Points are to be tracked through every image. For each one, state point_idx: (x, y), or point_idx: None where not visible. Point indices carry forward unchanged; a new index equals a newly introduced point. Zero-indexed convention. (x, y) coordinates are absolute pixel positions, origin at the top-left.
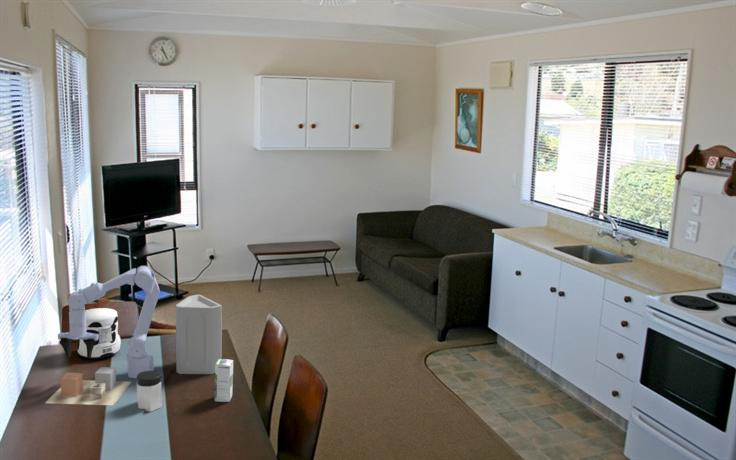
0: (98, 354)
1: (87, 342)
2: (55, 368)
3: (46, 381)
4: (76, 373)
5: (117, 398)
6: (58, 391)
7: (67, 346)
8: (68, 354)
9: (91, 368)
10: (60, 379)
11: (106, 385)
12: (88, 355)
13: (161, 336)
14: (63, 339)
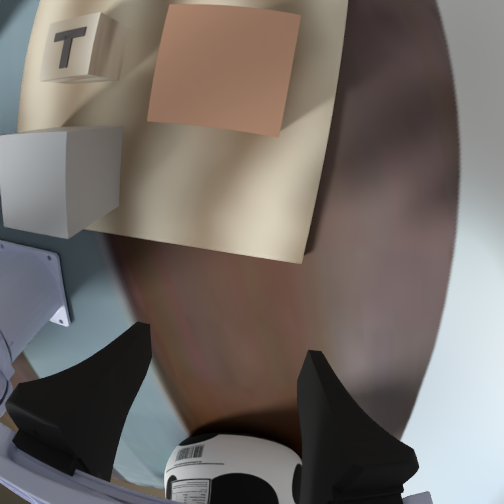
0: (218, 441)
1: (36, 416)
2: (368, 384)
3: (399, 274)
4: (193, 116)
5: (30, 50)
6: (321, 108)
7: (326, 434)
8: (311, 370)
9: (229, 379)
10: (300, 15)
11: (62, 127)
12: (125, 333)
13: (124, 479)
14: (376, 500)
